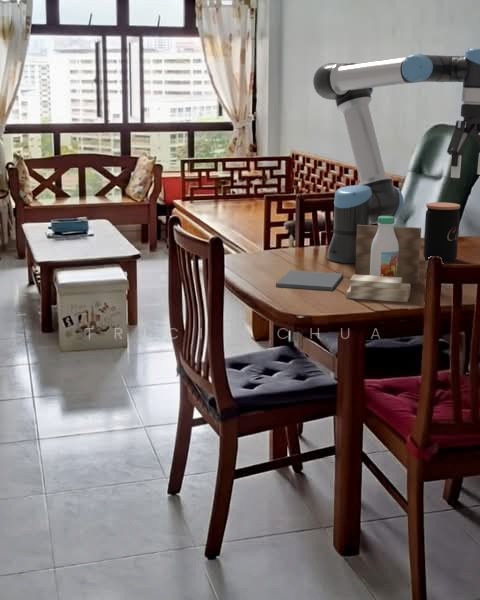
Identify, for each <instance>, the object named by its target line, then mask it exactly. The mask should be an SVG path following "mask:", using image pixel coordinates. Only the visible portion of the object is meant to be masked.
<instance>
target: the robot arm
mask: <svg viewBox="0 0 480 600" xmlns="http://www.w3.org/2000/svg"><path fill="white" fill-rule="evenodd" d="M312 82H313V83H312V84H313V87H314V90H315V92H316V93H317V95H319V96H320V97H322V98H323V99H326V100H332V101H333V100H335V104H336V107H337V109H338V110H339V111H341V112H342V113H343V117H344V121H345V125H346V129H347V134H348V137H349V141H350V146H351V149H352V152H353V153H352V154H353V157H354V161H355V165H356V169H357V174H358V177H359V183H358V184H354V185H346V186H341V187H339V188H338V189H337V190H336V191H335V193H334V201H333V204H334V205H333V234H332V237H331V241H330V243H329V247H328V250H327V253H326V254H327V256H326V257H327V260H329V261H332V262H337V263H342V264H356V239H357V225H374V224H378V217H379V216H392V217H394V218H395V219H397V218H398V217H399V216H400V214H401V212H402V211H403V208H404V204H405V203H404V202H405V200H404V196H403V193H402V191H401V190H400V189H398V187H396V186H394V184H393V180H392V177H390V176H388V175H387V174H386V172H385V167H384V163H383V159H382V155H381V151H380V147H379V142H378V138H377V134H376V131H375V127H374V123H373V118H372V115H371V110H370V107H369V105H370V103H371V101H372V93H373V91H374V88H379V87H388V86H396V85H405V84H416V83H428V82H430V83H431V82H432V83H435V82H436V83H462V93H461V94H462V95H461V102H462V104H461V107H460V108H461V109H460V116H461V117H462V118H463V119H462V120H456V121H455V128H454V131H453V134H452V135H451V139H450V141H449V144H448V147H447V150H446V152H447V154H448V155H450V156H451V161H450V163H451V164H450V178H455V179H460V178H461V169H462V166H461V164H462V155H460V154H461V153H462V151H463V149H464V147H465V146H466V143H468V140H469V139H470V138H471V137H474V138H475V141H476V143H477V145H478V148H479V149H480V48H468V49H466V50H465V54H464V55H437V54H436V55H435V54H434V55H431V54H422V53H419V54H418V53H417V54H411V55H408V56H406V57H405V56H404V57H399V58H398V57H397V58H391V59H384V60H378V61H370V62H364V63H363V62H362V63H356V62H355V63H354V62H350V63H347V62H346V63H344V62H342V63H340V62H338V63H337V62H327V63H325V64H323V65H321V66H319V67H318V69H317V70H316V71H315V73H314V75H313V80H312ZM477 160H478V161H477V171H476V175H480V152H478V159H477Z"/></svg>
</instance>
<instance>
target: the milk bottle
mask: <svg viewBox="0 0 480 600" xmlns="http://www.w3.org/2000/svg"><path fill="white" fill-rule="evenodd" d="M395 221H396V218H394V217H392V216H379V217H378V223H377V226H378V230H377V233H376V235H375V237H374V239H373V242H372V246H371V258H370V276H386V277H398V258H399V245H398V241H397V238H396V236H395V233H394V227H395Z"/></svg>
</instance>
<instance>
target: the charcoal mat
mask: <svg viewBox="0 0 480 600" xmlns="http://www.w3.org/2000/svg"><path fill="white" fill-rule="evenodd" d="M343 278H344V273H339V272H323V271H309V270H308V271H307V270H294V269H290V270H289V271H288V272H286V273H285V274H284V275H283V276H282V277H281V278H280V279H279V280H278V281H276V282H275V287H276V288H288V289H289V288H290V289H303V290H305V289H306V290H317V291H318V290H319V291H331V292H332V291H333V290H334V289H335V288H336V287H337V285H338V284H339V282H340V281H341V280H342V279H343Z"/></svg>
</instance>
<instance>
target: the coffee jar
mask: <svg viewBox="0 0 480 600" xmlns="http://www.w3.org/2000/svg"><path fill="white" fill-rule="evenodd" d="M425 206H426V208H427V210H426V211H425V219H424V220H425V221H424V222H425V223H424V238H423V254H422V255H423V257H424V259H425V260H426V261H428V260H427V259H428V257H430V256H439V257H441V258H442V261H443V262H442V263H453V262H454V261H455V260H456V259H457V258H458V247H459V233H460V232H459V231H460V230H459V229H460V220H461V219H460V218H461V217H460V216H461V213H460V210H459V209H461V204H458V203H454V202H443V201H442V202H441V201H440V202H428V203H426V205H425Z"/></svg>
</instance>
